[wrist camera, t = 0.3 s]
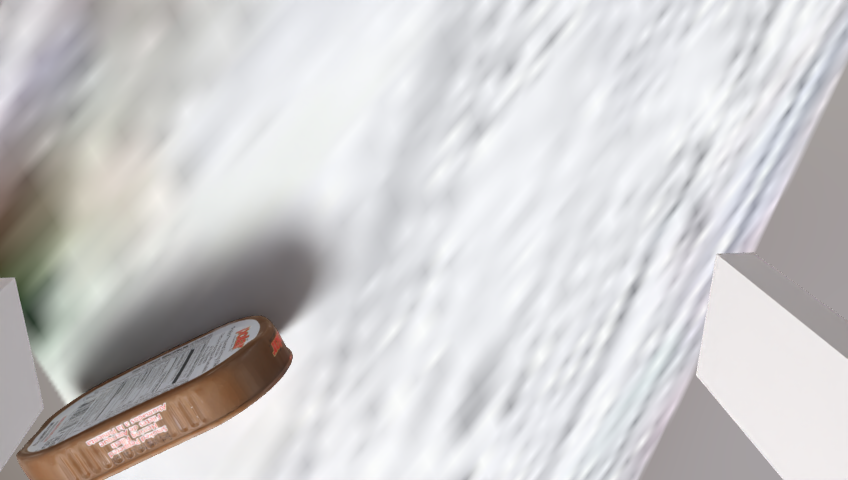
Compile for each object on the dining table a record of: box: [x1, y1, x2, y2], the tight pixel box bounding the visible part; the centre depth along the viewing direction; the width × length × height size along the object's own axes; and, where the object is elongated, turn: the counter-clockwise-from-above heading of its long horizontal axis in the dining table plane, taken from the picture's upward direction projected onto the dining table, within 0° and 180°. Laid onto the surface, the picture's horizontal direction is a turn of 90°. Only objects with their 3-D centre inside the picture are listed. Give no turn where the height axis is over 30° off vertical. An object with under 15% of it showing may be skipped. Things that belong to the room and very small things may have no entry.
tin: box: [16, 316, 293, 480], centre depth 38 cm, size 15×3×8 cm, turn 115°
